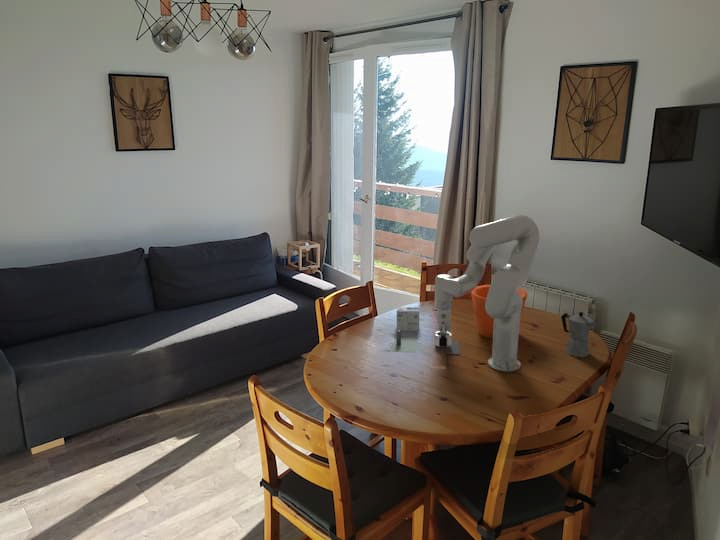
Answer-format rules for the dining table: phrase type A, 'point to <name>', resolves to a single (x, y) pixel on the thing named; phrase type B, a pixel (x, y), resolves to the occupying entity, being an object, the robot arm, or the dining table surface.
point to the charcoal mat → (453, 348)
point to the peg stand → (404, 344)
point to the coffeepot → (578, 334)
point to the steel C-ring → (437, 335)
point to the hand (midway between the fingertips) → (442, 342)
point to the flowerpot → (482, 317)
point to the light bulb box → (408, 318)
